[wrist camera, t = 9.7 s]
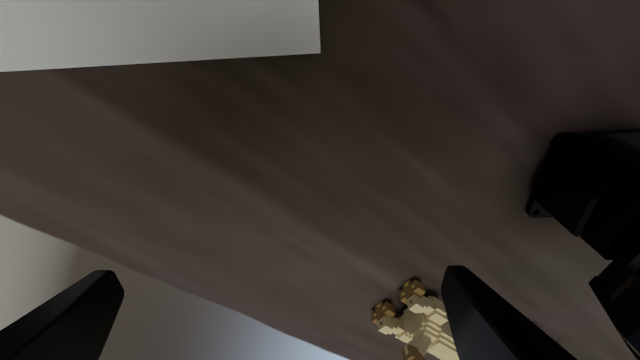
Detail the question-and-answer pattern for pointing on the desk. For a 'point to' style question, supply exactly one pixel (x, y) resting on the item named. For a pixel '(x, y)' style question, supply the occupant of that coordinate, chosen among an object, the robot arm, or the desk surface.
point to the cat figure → (418, 324)
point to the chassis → (151, 31)
